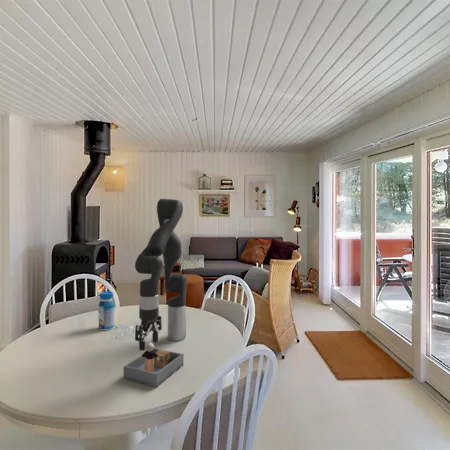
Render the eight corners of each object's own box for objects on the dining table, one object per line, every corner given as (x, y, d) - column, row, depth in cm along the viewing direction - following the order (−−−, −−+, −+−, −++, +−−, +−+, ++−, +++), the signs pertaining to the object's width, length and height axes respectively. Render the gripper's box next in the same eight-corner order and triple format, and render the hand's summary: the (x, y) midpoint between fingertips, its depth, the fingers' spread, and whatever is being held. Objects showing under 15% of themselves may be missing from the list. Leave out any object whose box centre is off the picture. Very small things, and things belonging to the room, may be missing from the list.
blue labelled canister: (111, 331, 182) (111, 294, 181) (95, 330, 183) (95, 294, 182) (116, 325, 191) (116, 290, 190) (101, 325, 191) (101, 290, 190)
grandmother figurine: (139, 376, 133) (139, 344, 132) (140, 371, 137) (141, 340, 136) (158, 375, 133) (159, 344, 133) (160, 371, 137) (160, 340, 136)
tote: (153, 358, 150) (153, 347, 150) (183, 365, 144) (183, 354, 144) (123, 378, 132) (123, 366, 132) (156, 387, 126) (156, 374, 126)
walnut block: (160, 360, 146) (160, 349, 146) (169, 363, 144) (170, 351, 144) (153, 365, 142) (153, 353, 141) (163, 368, 140) (163, 356, 139)
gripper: (145, 312, 125) (145, 355, 126) (167, 302, 138) (166, 341, 139) (129, 309, 128) (129, 351, 129) (151, 300, 141) (151, 338, 142)
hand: (148, 346), depth 134 cm, fingers open, 8 cm apart
